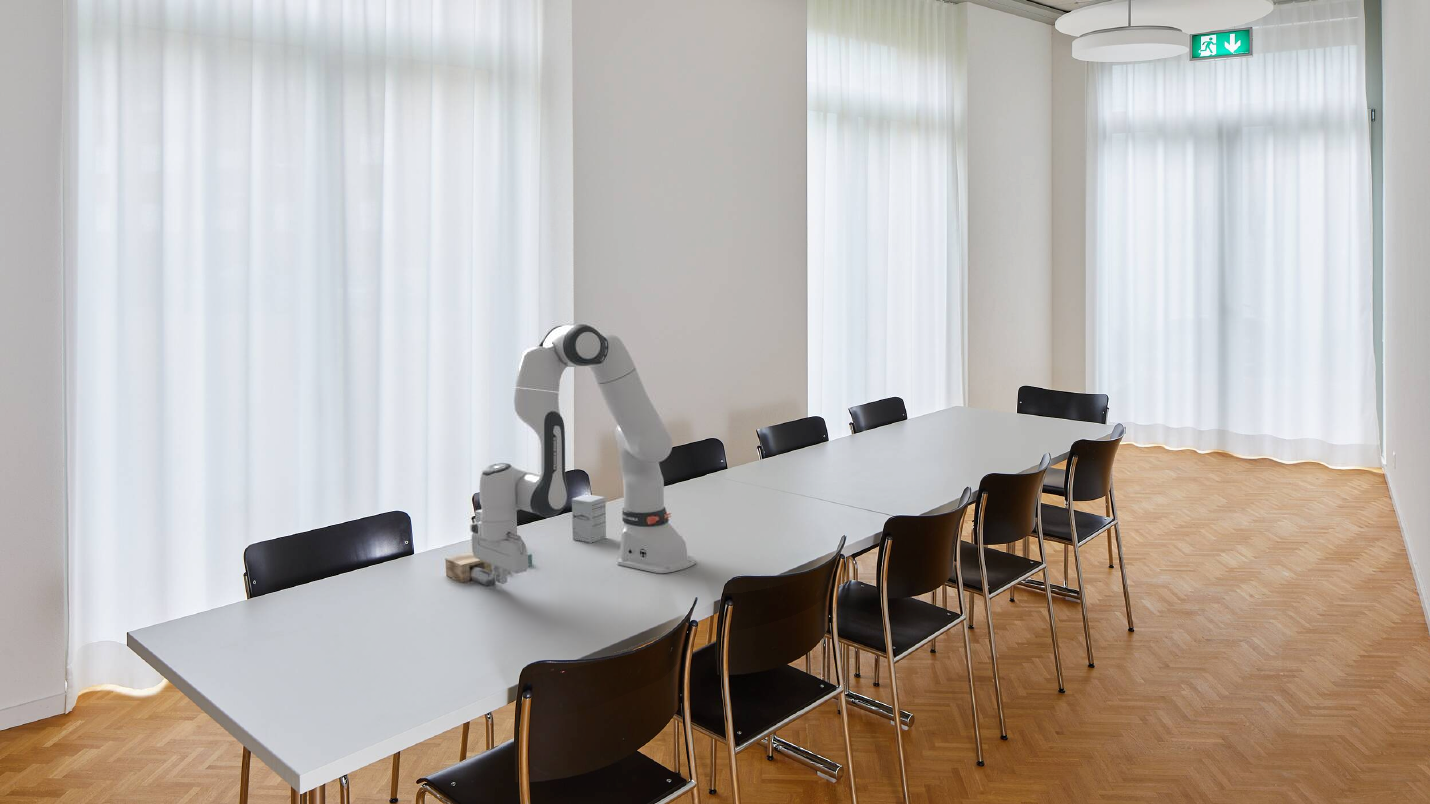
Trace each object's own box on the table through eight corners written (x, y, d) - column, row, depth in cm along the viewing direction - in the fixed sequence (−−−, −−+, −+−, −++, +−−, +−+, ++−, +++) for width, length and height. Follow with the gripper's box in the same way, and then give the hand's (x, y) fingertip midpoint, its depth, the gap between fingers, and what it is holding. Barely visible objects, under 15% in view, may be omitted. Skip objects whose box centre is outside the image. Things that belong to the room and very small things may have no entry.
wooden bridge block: (492, 574, 254) (491, 557, 253) (462, 582, 247) (461, 565, 247) (475, 568, 259) (475, 551, 259) (446, 575, 253) (445, 558, 252)
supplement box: (571, 540, 285) (570, 498, 283) (587, 534, 291) (586, 493, 290) (591, 543, 281) (590, 501, 279) (607, 537, 288) (606, 496, 286)
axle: (498, 581, 247) (493, 570, 246) (487, 589, 245) (482, 577, 243) (461, 566, 259) (456, 555, 258) (450, 573, 257) (445, 562, 256)
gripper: (533, 534, 235) (535, 588, 237) (487, 519, 250) (489, 570, 252) (511, 539, 231) (513, 595, 233) (466, 524, 245) (468, 576, 247)
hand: (501, 582), depth 242 cm, fingers closed
